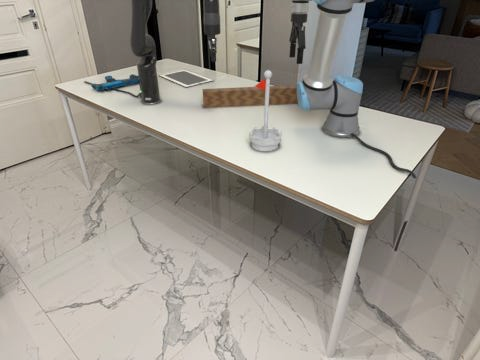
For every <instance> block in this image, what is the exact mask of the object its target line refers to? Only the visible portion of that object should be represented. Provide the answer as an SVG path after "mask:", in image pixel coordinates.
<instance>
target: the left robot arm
mask: <svg viewBox="0 0 480 360" xmlns="http://www.w3.org/2000/svg"><path fill="white" fill-rule="evenodd" d="M130 6H131V7H130V9H131V10H130V11H131V12H130V14H131V15H130V17H131V19H130V20H131V22H130V23H131V24H130V36H129V37H130V38H129V39H130V40H129V47H130V50H131V52H132V54H133V55H134V56H135V57H138V58H139V60H138V61H137V63H136V69H137V74H138V75H137V76H139V81H140V82H138V86H139V91H140V92H138V94H137V95H135V94H134V93H132V92H129V91H126V90H122V89H118V88H111V89H110V90H113V91H116V92H121V93H125V94H129V95H131V96H133V98H140V99H141V102H142V104H144V105H156V104H159V103H160V102H162V101H161V94H160V93H161V92H160V86H159V79H158V72H157V61H158V59H157V47H156V43H155V40H154V38H153V37H152V35H150V34H148V33H146V29H147V28H146V27H147V23H148V20H149V18H150V16H151V12H152V10H153V9H152V8H153V0H130ZM203 32H204V35H205V36H206V35H207V36H208V37H207V41H208V47H209V54H210V55H209V56H210V60H211V62H212V63H216V62H217V53H218V51H217V49H218V37H216V36H218V35H220V34H221V13H220V0H203ZM84 83H85V84H89V85H91V84H93V83H91V82H89V81H87V80H84Z"/></svg>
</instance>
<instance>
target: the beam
mask: <svg viewBox="0 0 480 360" xmlns="http://www.w3.org/2000/svg"><path fill="white" fill-rule="evenodd" d="M202 103H203V104H202V105H203V108H204V109H210V108H227V107H228V108H229V107H232V108H233V107H250V106H265V90H263V89H260V88H258V87H256V86H243V87H242V86H241V87H239V86H238V87H220V88H219V87H216V88H202ZM291 104H298V99H297V84H289V85H288V84H286V85H270V88H269V105H291Z"/></svg>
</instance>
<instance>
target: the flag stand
mask: <svg viewBox="0 0 480 360" xmlns="http://www.w3.org/2000/svg"><path fill="white" fill-rule="evenodd" d="M263 77H264V79H263V80H262V81H260V82H259V83H257V84H255V85H254V87H258V88H260V89H263V90H265V105H264V110H263V111H264V113H263V114H264V115H263V117H264V118H263V125H262V126H261V128H259V127H253V128H251V131H249V133H248V139H249V141H250V142H251V147H252V148H253V150H257V151H259V152H260V151H261V152H272V151H275V150H277V149H278V148H279V145H280V144H279V143H280V142H281V141H282V137H283V133H282V131H279V128H277V127H272V129H271V128H269V109H270V107H269V88H270V86H271V78H272V77H273V72H272V71H271V70H270V69H267V70H265V71H264V73H263Z"/></svg>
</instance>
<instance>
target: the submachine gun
mask: <svg viewBox="0 0 480 360" xmlns="http://www.w3.org/2000/svg"><path fill="white" fill-rule="evenodd" d="M104 80H106V82H101V83H92V84H90V86H91V88H92V89H94V90H95V91H97V92H99V91H103V90H105V91H107V90H108V91H111V90H112V89H111V88H113V89H116V88H120V87H123V86H128V85H133V84H139V83H140V81H139V75H136V74H134V73H132V74H130V75H129V78H123V79H116V78H115V77H113V76H112V75H106V76H104Z"/></svg>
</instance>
